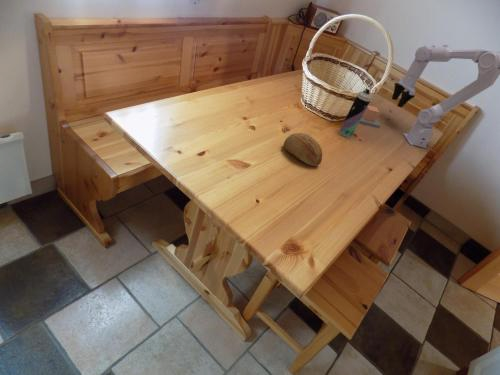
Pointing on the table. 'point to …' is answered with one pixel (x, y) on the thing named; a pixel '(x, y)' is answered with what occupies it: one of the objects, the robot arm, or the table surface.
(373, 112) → the clay cube
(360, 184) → the table surface
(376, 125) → the slate tile
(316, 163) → the bread roll
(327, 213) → the table surface
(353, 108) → the spray can
